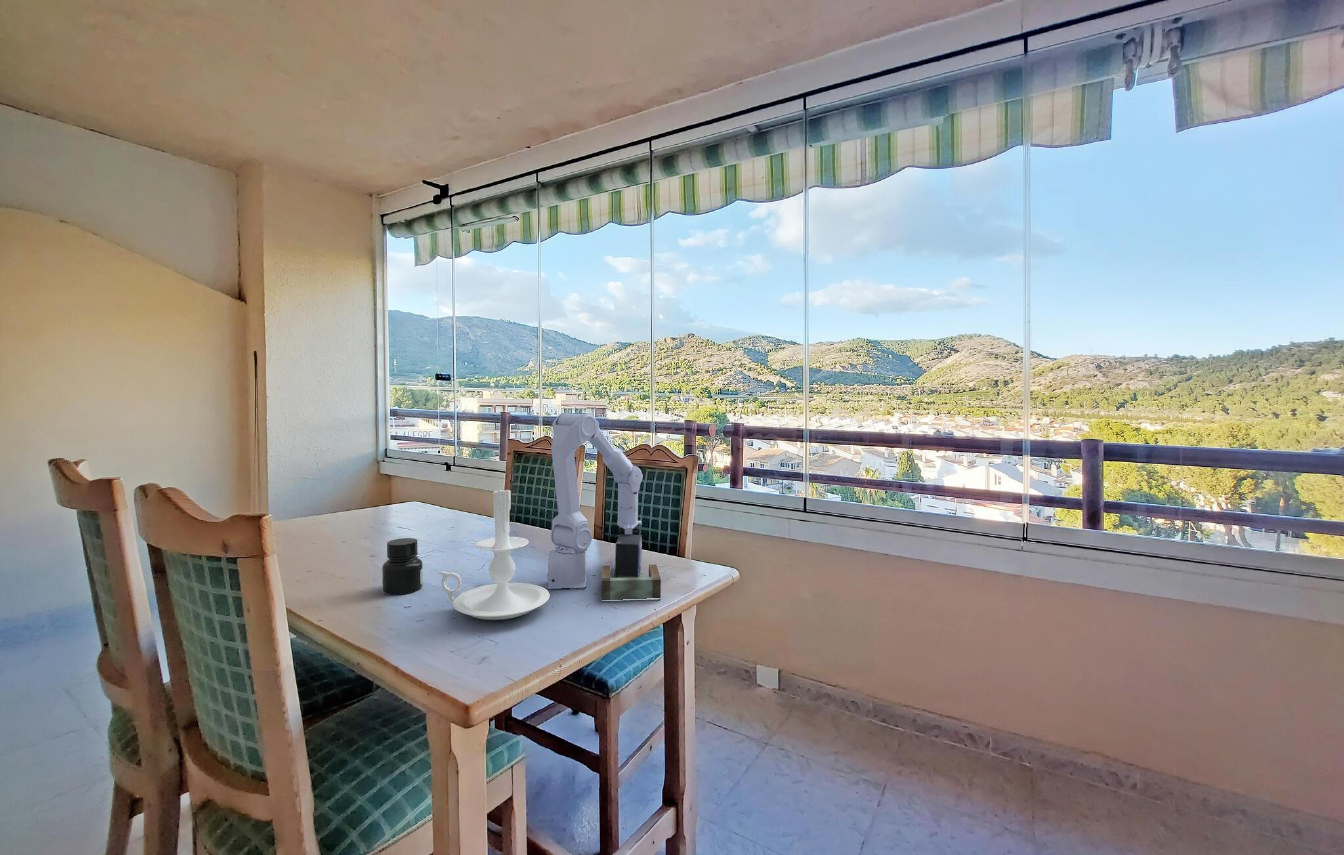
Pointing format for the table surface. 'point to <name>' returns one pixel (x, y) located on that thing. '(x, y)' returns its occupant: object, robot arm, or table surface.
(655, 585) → the book slot
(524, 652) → the table surface
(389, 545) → the ink bottle
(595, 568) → the table surface
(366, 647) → the table surface
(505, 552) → the candlestick
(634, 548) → the small box
